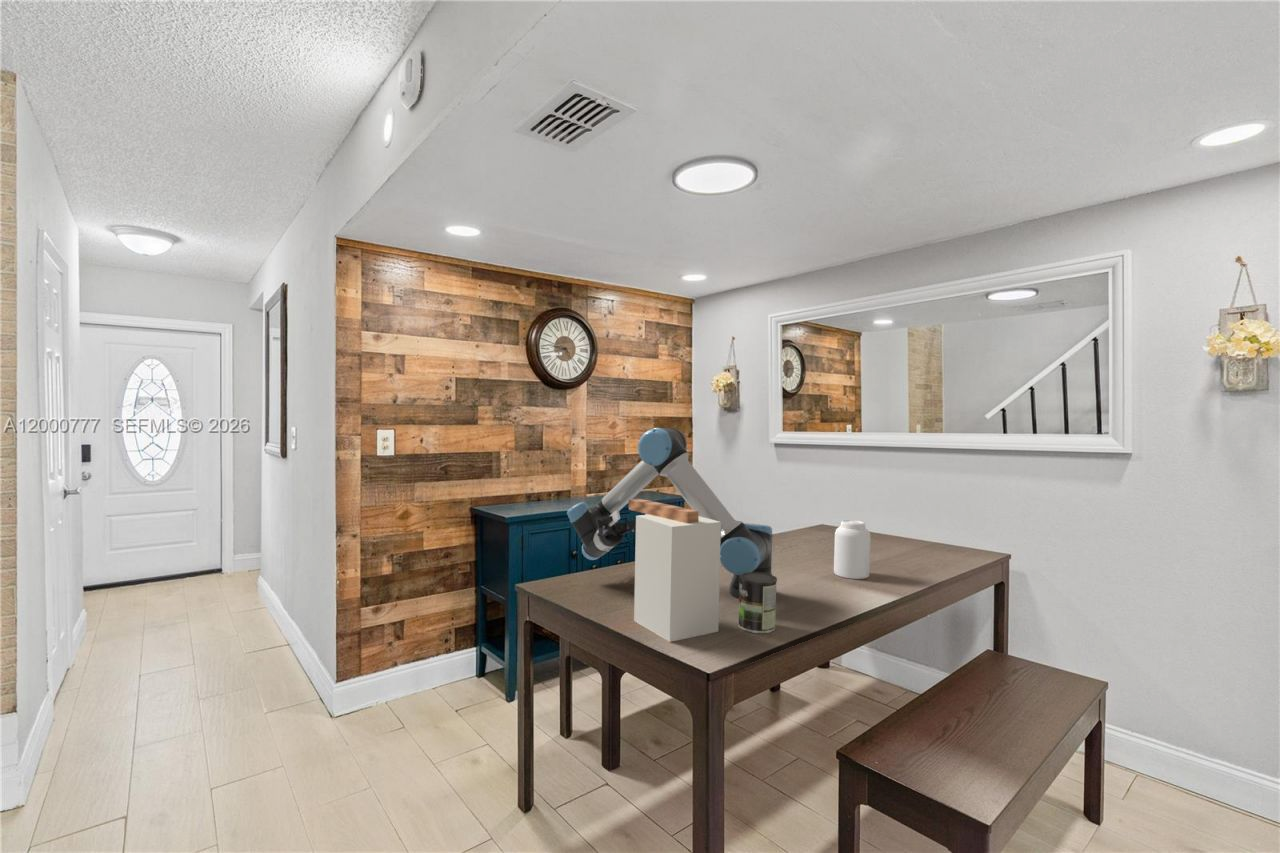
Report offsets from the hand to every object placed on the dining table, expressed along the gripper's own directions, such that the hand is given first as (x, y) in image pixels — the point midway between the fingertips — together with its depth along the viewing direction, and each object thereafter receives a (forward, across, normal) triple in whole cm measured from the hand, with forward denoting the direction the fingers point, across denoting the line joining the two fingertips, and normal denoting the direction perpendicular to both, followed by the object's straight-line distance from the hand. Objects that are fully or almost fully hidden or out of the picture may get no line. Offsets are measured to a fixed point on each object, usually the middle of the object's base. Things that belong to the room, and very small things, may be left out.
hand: (638, 512), depth 188 cm
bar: (+13, +1, -6) cm, 14 cm away
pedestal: (+3, 0, -35) cm, 35 cm away
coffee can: (+13, -20, -41) cm, 47 cm away
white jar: (-9, -89, -28) cm, 94 cm away
